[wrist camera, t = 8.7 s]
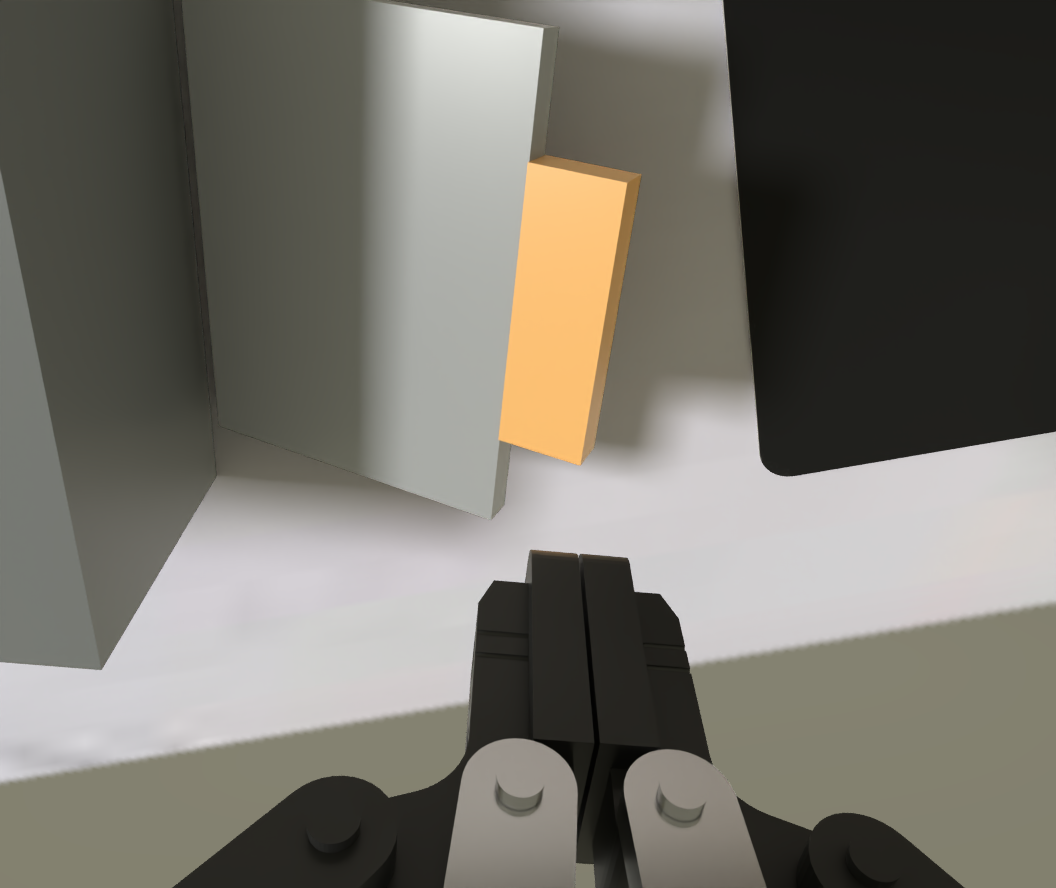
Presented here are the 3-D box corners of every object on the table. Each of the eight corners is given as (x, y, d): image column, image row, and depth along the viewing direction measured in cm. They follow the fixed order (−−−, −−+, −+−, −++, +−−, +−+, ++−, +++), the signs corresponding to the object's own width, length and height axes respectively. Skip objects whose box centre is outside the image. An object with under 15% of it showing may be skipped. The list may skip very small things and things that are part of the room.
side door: (176, -29, 22) (650, 45, 19) (207, -29, 23) (664, 42, 20) (216, 426, 30) (566, 548, 26) (239, 413, 30) (579, 528, 27)
